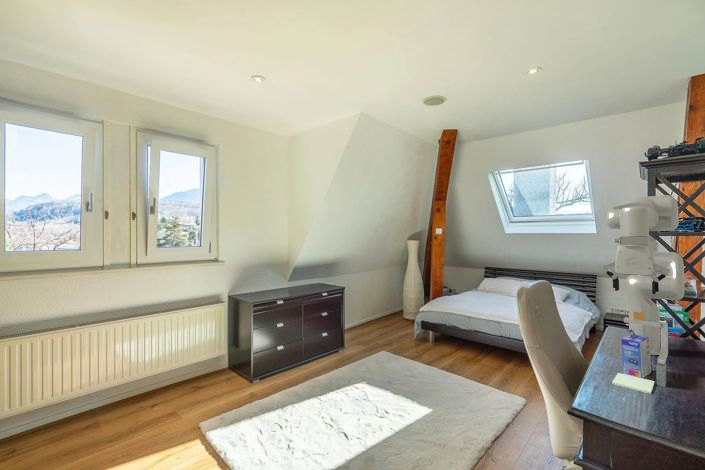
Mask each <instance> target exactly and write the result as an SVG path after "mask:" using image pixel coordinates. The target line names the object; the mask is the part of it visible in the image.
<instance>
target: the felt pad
mask: <svg viewBox="0 0 705 470" xmlns="http://www.w3.org/2000/svg"><path fill="white" fill-rule="evenodd" d="M655 383H656V381H654V380H650V379H647V378H638V377H634V376H630V375H626V374H623V373H620V372H617V374H616V375H615V377H614V379H613V380H612V381H611V384H612V385H614V386H618V387H622V388H626V389H628V390H629V389H630V390H633V391H638V392H642V393H645V394H648V395H652V392H653V389H654V386H655Z"/></svg>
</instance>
